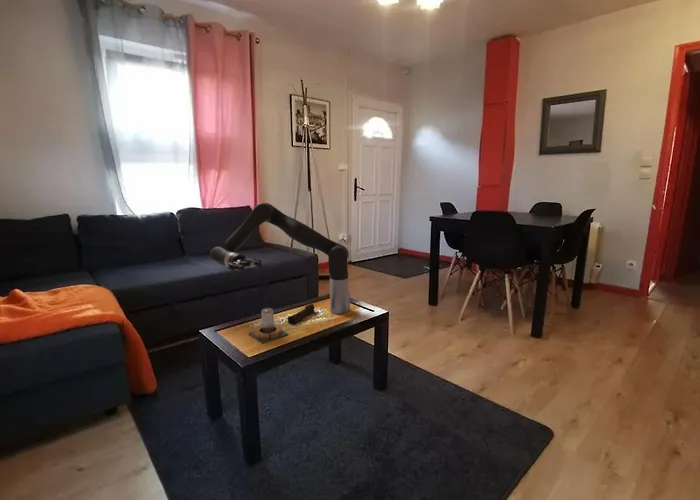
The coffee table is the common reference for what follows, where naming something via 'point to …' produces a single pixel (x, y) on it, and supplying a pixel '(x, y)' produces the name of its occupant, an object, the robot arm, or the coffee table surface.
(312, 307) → the hand tool
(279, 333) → the ring plate
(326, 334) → the coffee table surface
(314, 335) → the coffee table surface
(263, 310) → the cylinder
